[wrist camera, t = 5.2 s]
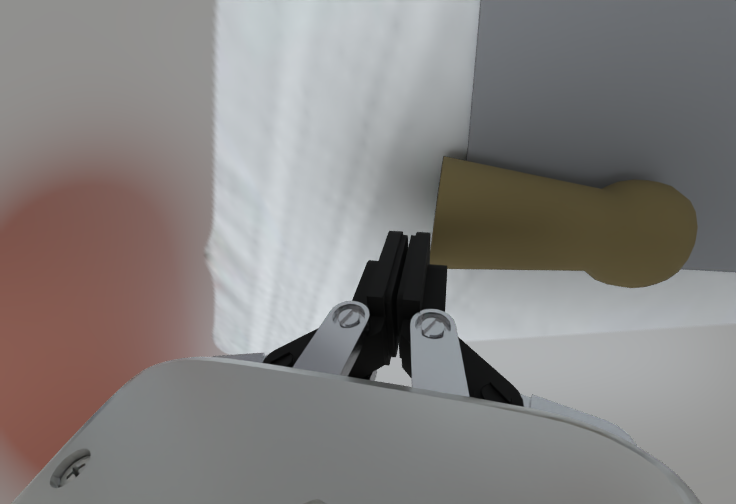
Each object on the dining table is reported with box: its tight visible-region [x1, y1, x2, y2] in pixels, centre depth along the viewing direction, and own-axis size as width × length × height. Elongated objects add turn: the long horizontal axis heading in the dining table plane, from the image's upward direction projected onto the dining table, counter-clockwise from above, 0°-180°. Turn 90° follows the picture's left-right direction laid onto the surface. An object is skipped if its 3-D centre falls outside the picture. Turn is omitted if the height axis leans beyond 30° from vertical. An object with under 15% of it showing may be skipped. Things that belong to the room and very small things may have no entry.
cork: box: [430, 156, 698, 288], centre depth 16 cm, size 6×6×11 cm
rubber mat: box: [467, 0, 736, 272], centre depth 15 cm, size 18×14×1 cm
